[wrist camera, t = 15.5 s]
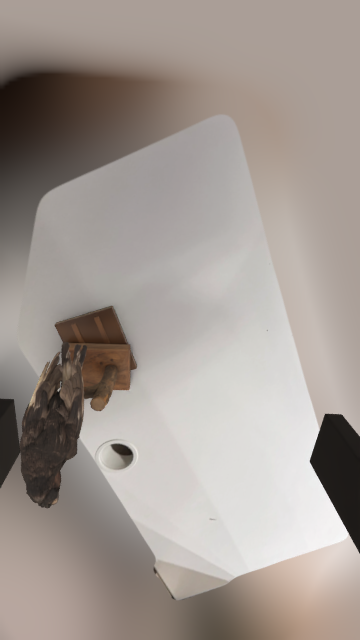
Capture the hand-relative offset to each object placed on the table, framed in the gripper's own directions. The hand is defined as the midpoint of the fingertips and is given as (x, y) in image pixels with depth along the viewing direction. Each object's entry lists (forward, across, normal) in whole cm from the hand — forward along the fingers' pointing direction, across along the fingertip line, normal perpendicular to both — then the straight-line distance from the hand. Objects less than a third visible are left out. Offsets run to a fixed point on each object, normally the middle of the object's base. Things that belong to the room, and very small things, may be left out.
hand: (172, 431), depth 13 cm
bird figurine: (+38, -10, -16) cm, 42 cm away
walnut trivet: (+39, -10, -16) cm, 43 cm away
